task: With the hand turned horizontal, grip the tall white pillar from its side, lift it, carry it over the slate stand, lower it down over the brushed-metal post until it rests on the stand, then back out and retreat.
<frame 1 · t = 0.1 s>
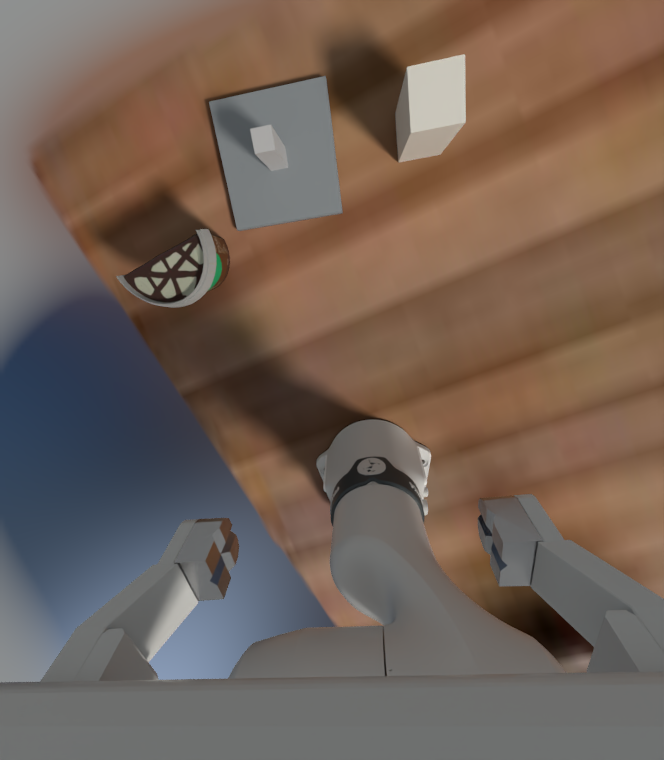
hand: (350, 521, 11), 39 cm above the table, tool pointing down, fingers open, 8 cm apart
post stand: (279, 161, 41), on the table
food container: (208, 275, 47), on the table
tall white pillar: (417, 134, 39), on the table
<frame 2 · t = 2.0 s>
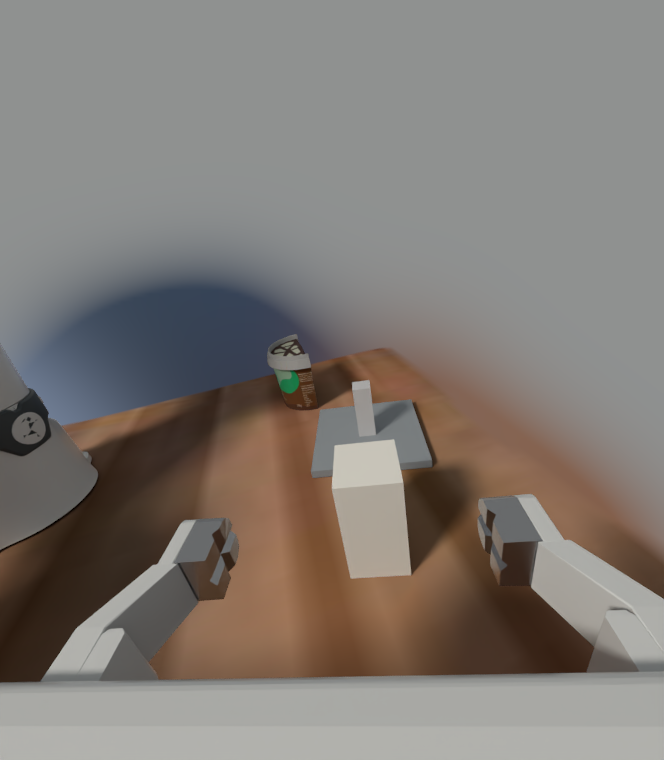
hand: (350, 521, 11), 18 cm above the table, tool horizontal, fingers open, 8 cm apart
post stand: (368, 437, 45), on the table
food container: (296, 401, 58), on the table
tall white pillar: (378, 549, 30), on the table
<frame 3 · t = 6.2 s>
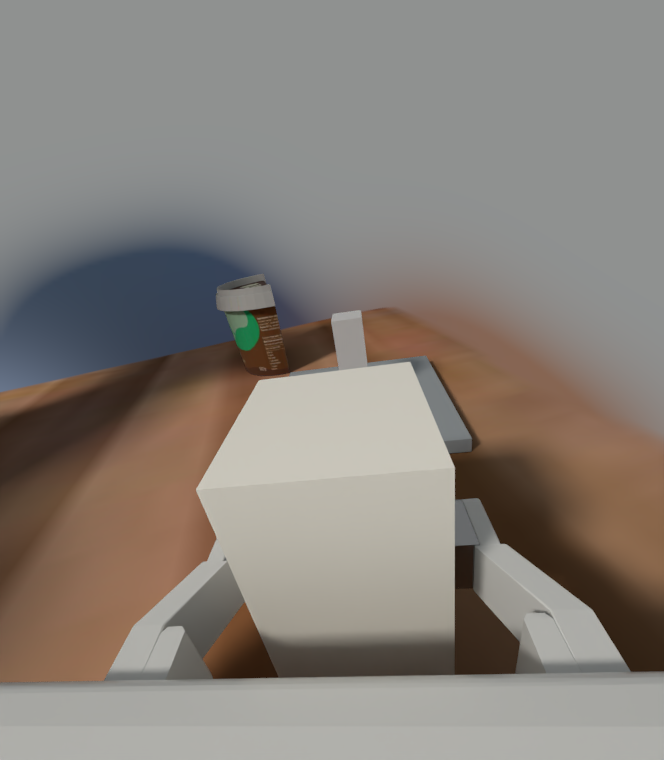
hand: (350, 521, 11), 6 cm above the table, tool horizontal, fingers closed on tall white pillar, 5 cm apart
post stand: (359, 407, 28), on the table
food container: (261, 366, 41), on the table
tall white pillar: (369, 631, 13), on the table, touching gripper
when the fingers open (7 cm above the table, at t = 12.6 s): tall white pillar stays where it is, resting on post stand.
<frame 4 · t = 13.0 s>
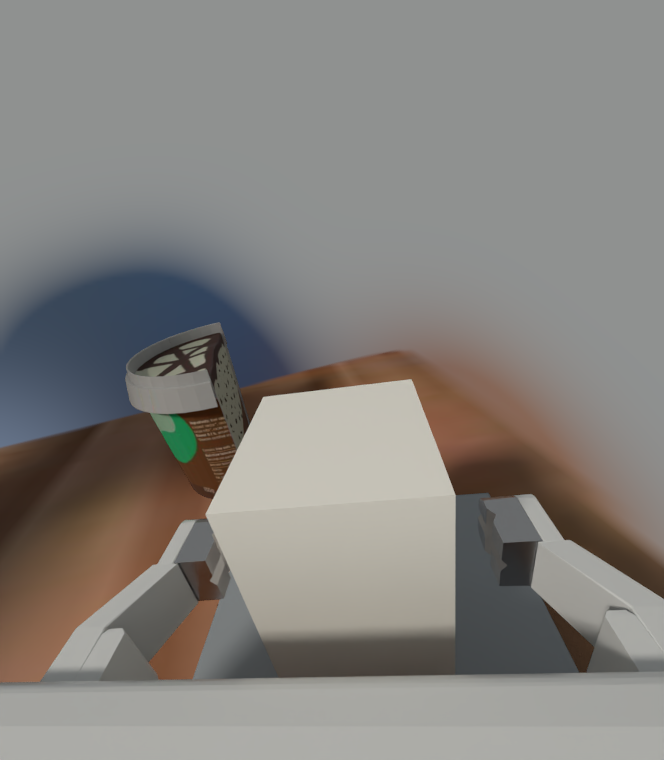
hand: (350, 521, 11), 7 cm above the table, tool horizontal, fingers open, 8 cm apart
post stand: (373, 652, 13), on the table
food container: (215, 468, 27), on the table
tall white pillar: (371, 640, 13), point 1 cm above the table, touching post stand
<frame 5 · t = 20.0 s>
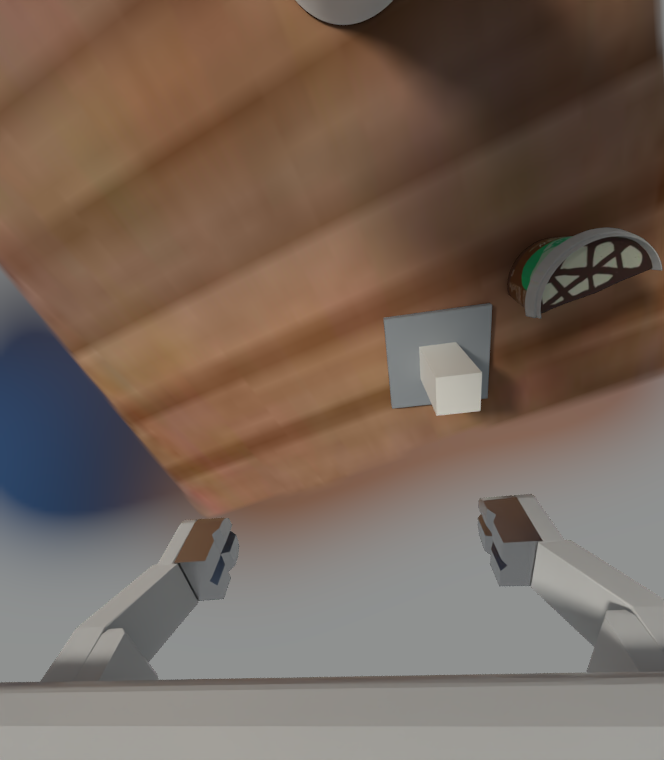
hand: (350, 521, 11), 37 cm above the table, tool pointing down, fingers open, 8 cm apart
post stand: (436, 358, 47), on the table
food container: (540, 255, 41), on the table
tall white pillar: (437, 361, 47), point 1 cm above the table, touching post stand
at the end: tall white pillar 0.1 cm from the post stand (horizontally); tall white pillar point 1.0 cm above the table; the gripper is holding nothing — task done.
